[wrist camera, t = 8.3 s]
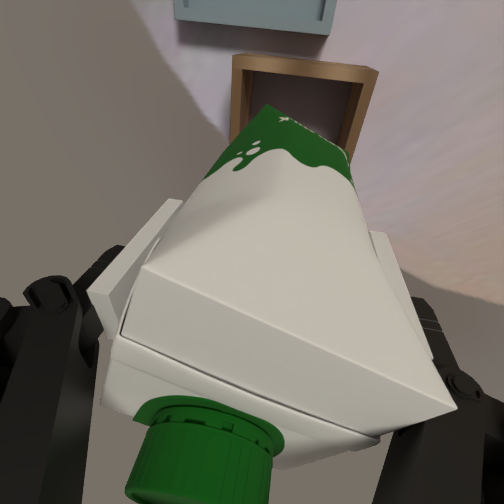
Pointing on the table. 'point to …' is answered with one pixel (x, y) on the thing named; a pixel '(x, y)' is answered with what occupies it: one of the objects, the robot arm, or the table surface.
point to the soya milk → (264, 328)
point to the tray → (261, 14)
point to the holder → (357, 74)
